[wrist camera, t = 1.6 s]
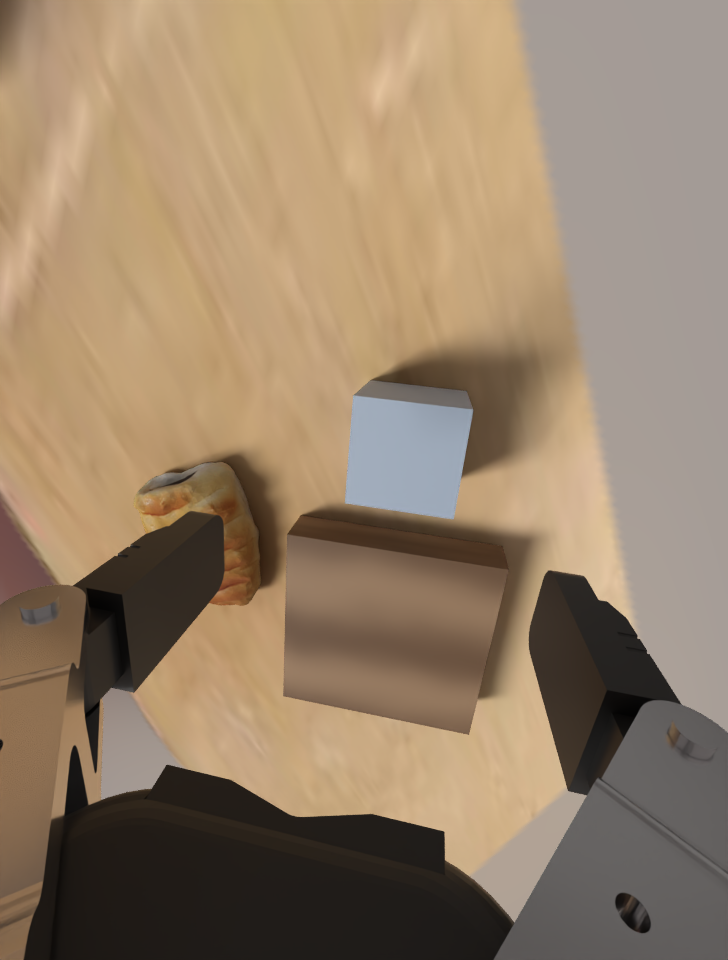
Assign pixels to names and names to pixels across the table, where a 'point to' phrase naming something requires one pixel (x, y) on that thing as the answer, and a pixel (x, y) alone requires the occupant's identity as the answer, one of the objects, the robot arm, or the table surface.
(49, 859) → the robot arm
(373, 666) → the walnut base
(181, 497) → the pastry
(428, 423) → the blue cube
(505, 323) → the table surface
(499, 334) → the table surface
